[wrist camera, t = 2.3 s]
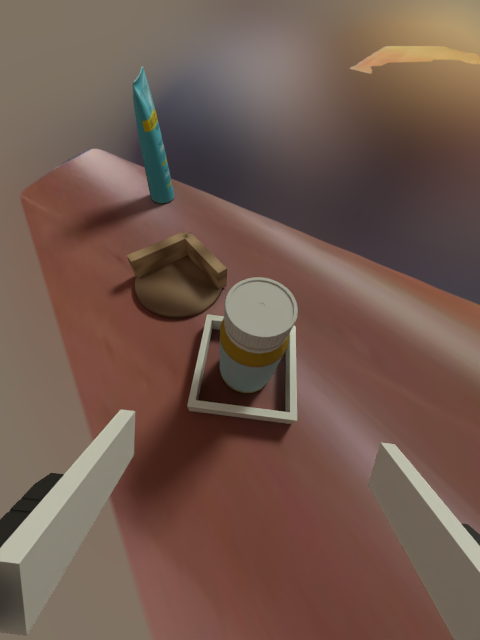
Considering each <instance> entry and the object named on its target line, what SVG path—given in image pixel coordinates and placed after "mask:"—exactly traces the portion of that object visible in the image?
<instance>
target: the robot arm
mask: <svg viewBox="0 0 480 640" xmlns="http://www.w3.org/2000/svg"><path fill="white" fill-rule="evenodd" d="M134 433H135V411H128V410H120V411H119V412H118V413H117V414H116V416H115V417H114V418H113V419H112V420H111V421H110V423H109V424H108V425H107V426H106V427H105V428H104V429H103V431H102V432H101V433H100V434H99V435H98V436H97V437H96V439H95V440H94V441H93V442H92V443H91V444H90V446H89V447H88V448H87V449H86V450H85V451H84V453H83V454H82V455H81V456H80V457H79V458H78V459H77V460H76V462H75V463H74V464H73V465H72V466H71V467H70V468H69V470H68V471H67V472H66V473H65V474H56V473H50V474H49V475H47V476H46V477H45V478H43V479H41V480H40V481H38V482H37V483H35V484H34V485H33V487H31V489H30V490H29V491H28V492H27V493H26V494H25V495H24V496H23V497H22V499H21V500H19V501H18V502H17V503H16V504H15V505H14V506H13V507H12V508H11V510H10V511H9V512H8V513H6V514H5V515H4V516H3V517H2V518H1V520H0V632H2V633H10V634H18V635H28V633H29V631H30V630H31V628H32V626H33V625H34V623H35V621H36V619H37V618H38V616H39V614H40V613H41V611H42V609H43V608H44V606H45V604H46V603H47V601H48V599H49V597H50V596H51V594H52V592H53V591H54V589H55V587H56V586H57V584H58V582H59V581H60V579H61V577H62V576H63V574H64V572H65V570H66V569H67V567H68V565H69V564H70V562H71V560H72V559H73V557H74V555H75V554H76V552H77V550H78V549H79V547H80V545H81V543H82V542H83V540H84V538H85V537H86V535H87V533H88V532H89V530H90V528H91V526H92V524H93V523H94V521H95V520H96V518H97V516H98V515H99V513H100V511H101V510H102V508H103V506H104V505H105V503H106V501H107V500H108V498H109V496H110V495H111V493H112V491H113V489H114V488H115V486H116V484H117V483H118V481H119V479H120V478H121V476H122V474H123V473H124V471H125V469H126V468H127V466H128V464H129V462H130V461H131V459H132V457H133V456H134ZM368 486H369V487H370V489H371V491H372V493H373V495H374V496H375V498H376V500H377V502H378V504H379V505H380V507H381V509H382V511H383V513H384V514H385V516H386V518H387V520H388V522H389V523H390V525H391V527H392V529H393V531H394V532H395V534H396V536H397V538H398V540H399V541H400V543H401V545H402V547H403V549H404V550H405V552H406V554H407V556H408V557H409V559H410V561H411V563H412V565H413V566H414V568H415V570H416V572H417V574H418V575H419V577H420V579H421V581H422V583H423V584H424V586H425V588H426V590H427V592H428V593H429V595H430V597H431V599H432V601H433V602H434V604H435V606H436V608H437V610H438V611H439V613H440V615H441V617H442V618H443V620H444V622H445V624H446V626H447V627H448V629H449V631H450V633H451V635H452V636H453V638H454V640H480V535H479V534H478V533H477V532H476V531H475V530H474V529H472V528H471V527H470V526H469V525H468V524H461V523H460V522H459V521H458V519H457V518H456V517H455V516H454V515H453V513H452V512H451V511H450V510H449V509H448V507H447V506H446V505H445V504H444V503H443V501H442V500H441V499H440V498H439V497H438V495H437V494H436V493H435V492H434V491H433V489H432V488H431V487H430V486H429V485H428V483H427V482H426V481H425V480H424V479H423V477H422V476H421V475H420V474H419V473H418V471H417V470H416V469H415V468H414V467H413V465H412V464H411V463H410V462H409V461H408V459H407V458H406V457H405V456H404V455H403V453H402V452H401V451H400V450H399V449H398V447H397V446H396V445H395V444H388V443H380V446H379V450H378V453H377V456H376V460H375V463H374V466H373V470H372V473H371V476H370V480H369V483H368Z"/></svg>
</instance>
